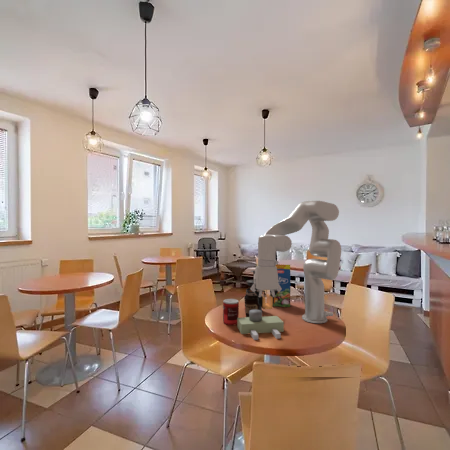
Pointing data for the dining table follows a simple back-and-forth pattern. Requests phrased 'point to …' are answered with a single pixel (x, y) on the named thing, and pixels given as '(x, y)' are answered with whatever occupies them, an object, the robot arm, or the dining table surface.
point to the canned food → (230, 311)
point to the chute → (267, 302)
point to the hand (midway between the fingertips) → (265, 305)
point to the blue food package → (283, 286)
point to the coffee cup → (251, 302)
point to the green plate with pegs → (260, 324)
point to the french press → (250, 283)
